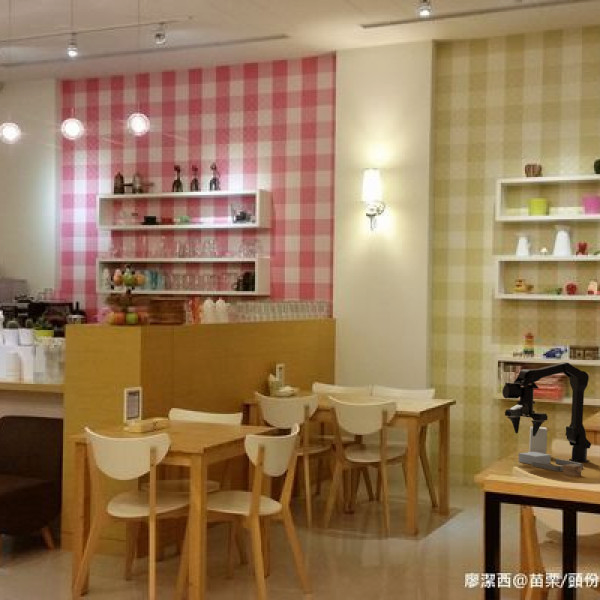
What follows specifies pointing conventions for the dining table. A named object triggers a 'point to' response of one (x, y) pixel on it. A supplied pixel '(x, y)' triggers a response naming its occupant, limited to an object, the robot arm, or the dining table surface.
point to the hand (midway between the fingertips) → (525, 434)
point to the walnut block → (572, 470)
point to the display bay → (554, 467)
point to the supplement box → (538, 440)
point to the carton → (534, 457)
